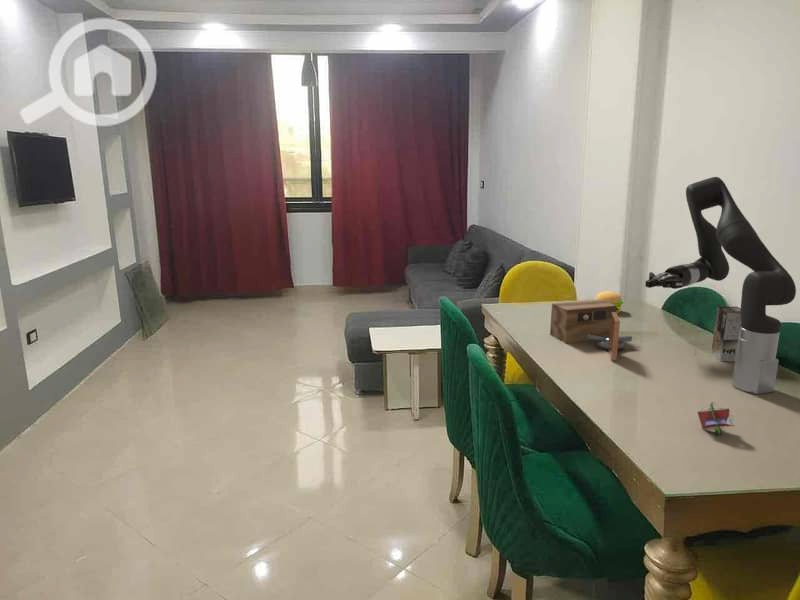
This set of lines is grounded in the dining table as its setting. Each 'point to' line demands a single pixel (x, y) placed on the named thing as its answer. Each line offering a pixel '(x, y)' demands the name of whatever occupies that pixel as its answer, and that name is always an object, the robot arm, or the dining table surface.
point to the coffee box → (726, 333)
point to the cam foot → (611, 338)
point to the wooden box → (580, 319)
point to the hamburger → (611, 299)
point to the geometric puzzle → (716, 418)
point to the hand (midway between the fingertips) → (647, 284)
